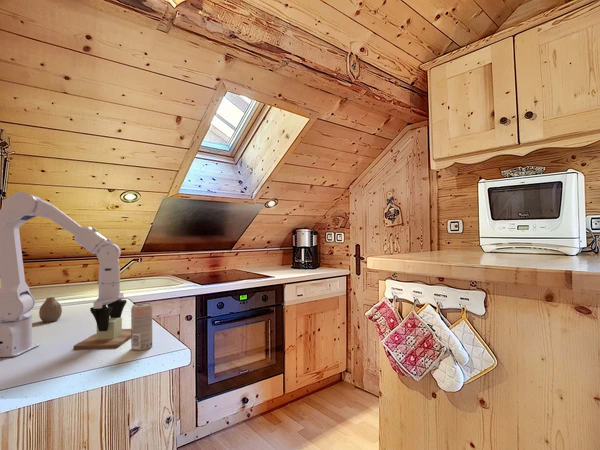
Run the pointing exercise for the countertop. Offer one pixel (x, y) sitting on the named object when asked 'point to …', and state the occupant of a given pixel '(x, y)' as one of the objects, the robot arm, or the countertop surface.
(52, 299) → the vase
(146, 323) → the energy drink
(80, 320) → the countertop surface
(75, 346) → the walnut board
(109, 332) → the sage block
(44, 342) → the countertop surface
